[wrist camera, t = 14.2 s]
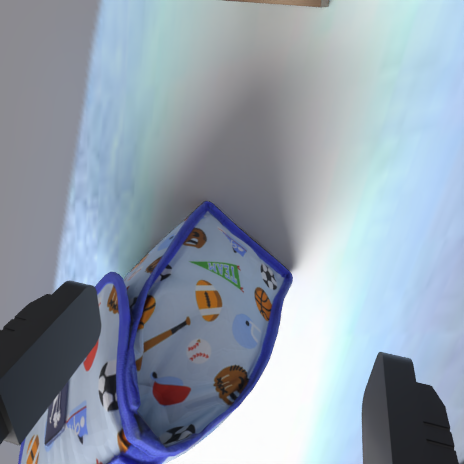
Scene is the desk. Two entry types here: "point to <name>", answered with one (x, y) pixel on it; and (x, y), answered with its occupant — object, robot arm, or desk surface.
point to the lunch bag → (168, 349)
